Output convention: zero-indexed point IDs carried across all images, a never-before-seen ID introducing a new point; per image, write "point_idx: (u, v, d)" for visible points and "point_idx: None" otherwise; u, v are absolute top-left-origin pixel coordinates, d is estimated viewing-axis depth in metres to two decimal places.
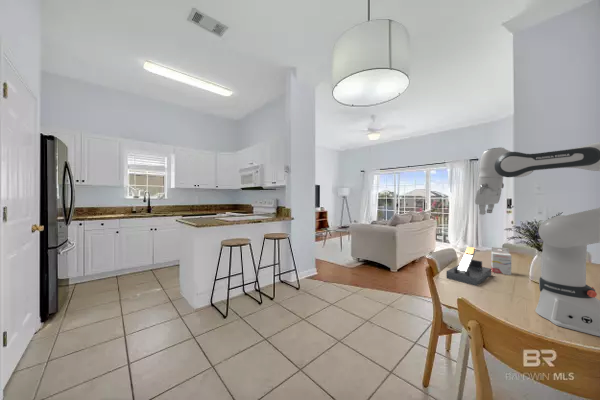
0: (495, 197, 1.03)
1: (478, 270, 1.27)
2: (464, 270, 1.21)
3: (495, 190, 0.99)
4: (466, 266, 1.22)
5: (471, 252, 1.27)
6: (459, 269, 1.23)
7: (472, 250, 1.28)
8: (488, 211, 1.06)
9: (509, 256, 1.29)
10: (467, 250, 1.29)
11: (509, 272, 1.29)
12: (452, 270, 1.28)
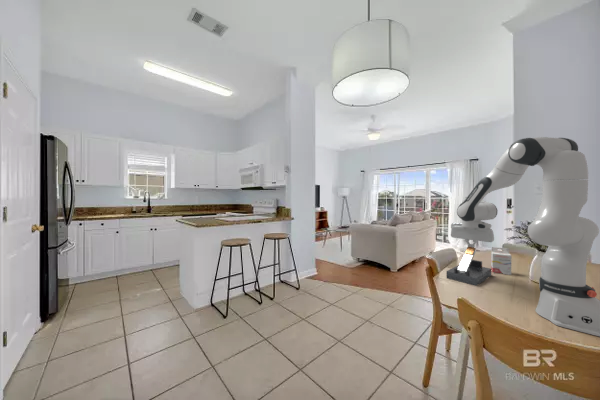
0: (478, 235, 1.25)
1: (478, 270, 1.27)
2: (464, 270, 1.21)
3: (466, 228, 1.29)
4: (466, 266, 1.22)
5: (471, 252, 1.27)
6: (459, 269, 1.23)
7: (472, 250, 1.28)
8: None
9: (509, 256, 1.29)
10: (467, 250, 1.29)
11: (509, 272, 1.29)
12: (452, 270, 1.28)
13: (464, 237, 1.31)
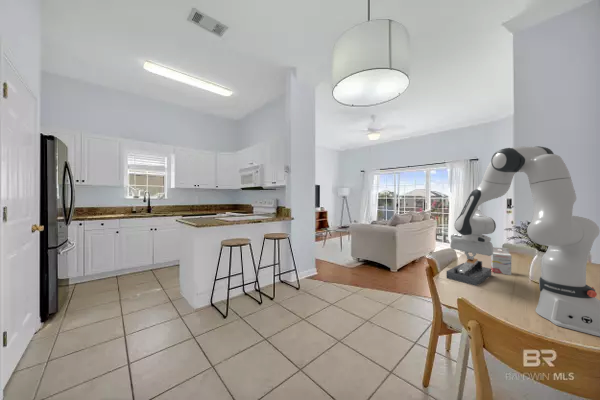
0: (477, 248, 1.26)
1: (478, 270, 1.27)
2: (464, 270, 1.21)
3: (465, 241, 1.30)
4: (467, 268, 1.23)
5: (473, 261, 1.28)
6: (459, 269, 1.23)
7: (474, 260, 1.30)
8: None
9: (509, 256, 1.29)
10: None
11: (509, 272, 1.29)
12: (452, 270, 1.28)
13: (463, 249, 1.32)
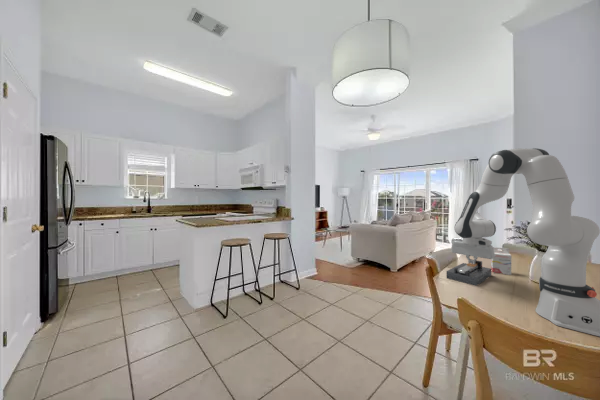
0: (478, 252, 1.25)
1: (478, 270, 1.27)
2: (464, 270, 1.21)
3: (466, 244, 1.29)
4: (467, 269, 1.23)
5: (473, 265, 1.29)
6: (459, 269, 1.23)
7: (474, 264, 1.30)
8: None
9: (509, 256, 1.29)
10: (469, 263, 1.31)
11: (509, 272, 1.29)
12: (452, 270, 1.28)
13: (465, 253, 1.31)
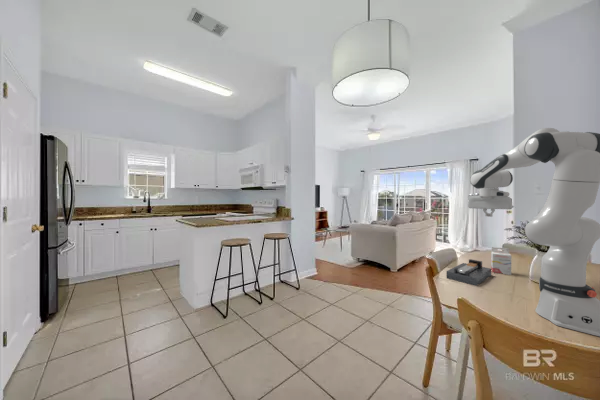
0: (496, 203, 1.28)
1: (478, 270, 1.27)
2: (464, 270, 1.21)
3: (484, 198, 1.32)
4: (467, 269, 1.23)
5: (473, 265, 1.29)
6: (459, 269, 1.23)
7: (474, 264, 1.30)
8: None
9: (509, 256, 1.29)
10: (469, 263, 1.31)
11: (509, 272, 1.29)
12: (452, 270, 1.28)
13: (482, 207, 1.33)
